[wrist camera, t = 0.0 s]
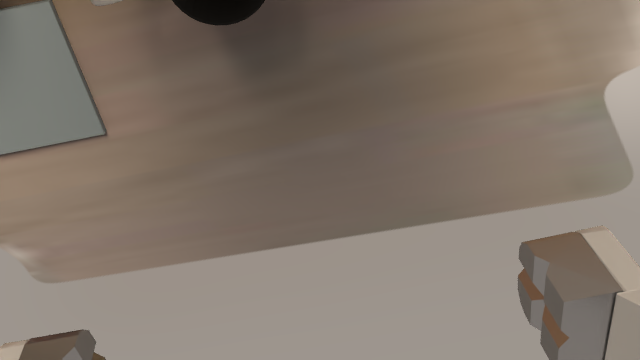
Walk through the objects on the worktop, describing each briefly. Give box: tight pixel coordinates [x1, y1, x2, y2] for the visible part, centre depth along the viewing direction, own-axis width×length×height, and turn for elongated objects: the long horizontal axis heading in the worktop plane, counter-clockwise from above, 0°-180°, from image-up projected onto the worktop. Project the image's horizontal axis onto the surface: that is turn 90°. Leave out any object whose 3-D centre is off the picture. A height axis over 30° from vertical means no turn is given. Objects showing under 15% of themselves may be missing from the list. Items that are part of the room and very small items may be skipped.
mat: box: [0, 0, 106, 155], centre depth 58 cm, size 14×12×1 cm
